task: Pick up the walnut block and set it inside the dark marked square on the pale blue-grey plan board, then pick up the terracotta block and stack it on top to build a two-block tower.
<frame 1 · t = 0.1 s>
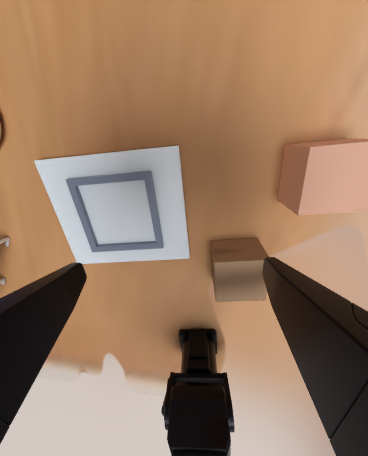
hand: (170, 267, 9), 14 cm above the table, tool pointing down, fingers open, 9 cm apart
plan board: (122, 211, 24), on the table
walnut block: (233, 257, 26), on the table
terracotta block: (308, 171, 21), on the table
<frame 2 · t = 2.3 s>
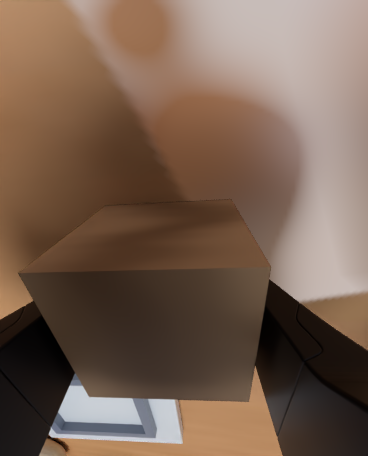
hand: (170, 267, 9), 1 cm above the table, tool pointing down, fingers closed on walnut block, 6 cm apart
stacking toy: (38, 441, 24), on the table
plan board: (99, 388, 17), on the table
walnut block: (172, 255, 10), on the table, touching gripper
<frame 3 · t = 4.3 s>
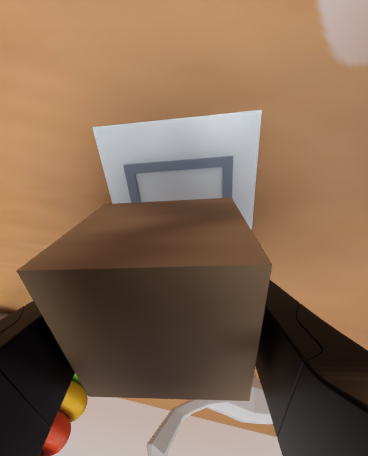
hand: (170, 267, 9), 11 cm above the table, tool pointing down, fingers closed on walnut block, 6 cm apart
stacking toy: (108, 302, 27), on the table
plan board: (182, 207, 20), on the table
walnut block: (172, 254, 10), point 10 cm above the table, touching gripper
cat figurine: (227, 334, 29), on the table
when the fingers open (3 cm above the table, at t = 6.3 s): walnut block drops 1 cm, resting on plan board.
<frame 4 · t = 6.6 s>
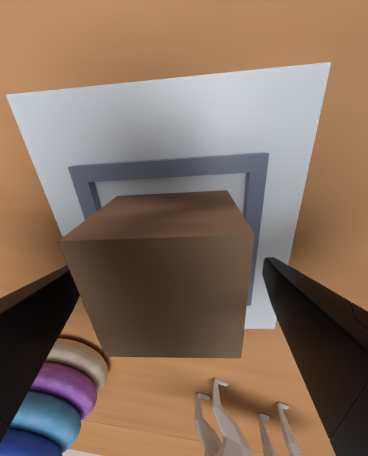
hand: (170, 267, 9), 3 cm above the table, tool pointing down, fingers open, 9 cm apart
stacking toy: (73, 356, 20), on the table
plan board: (176, 234, 12), on the table
walnut block: (175, 241, 11), point 1 cm above the table, touching plan board
cat figurine: (236, 394, 21), on the table
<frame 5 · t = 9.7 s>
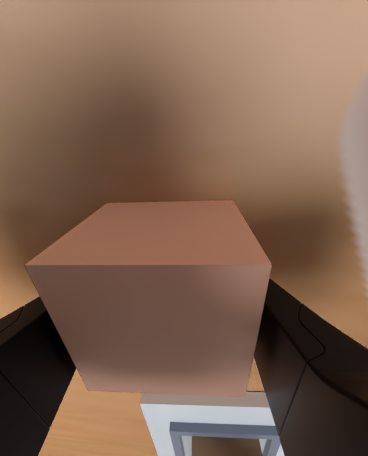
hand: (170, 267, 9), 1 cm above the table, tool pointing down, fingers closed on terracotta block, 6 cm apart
plan board: (221, 431, 19), on the table
walnut block: (223, 445, 19), point 1 cm above the table, touching plan board
terracotta block: (172, 253, 10), on the table, touching gripper
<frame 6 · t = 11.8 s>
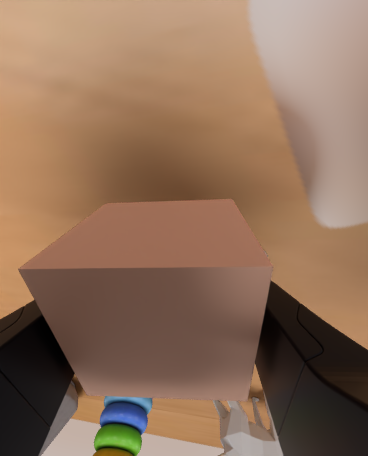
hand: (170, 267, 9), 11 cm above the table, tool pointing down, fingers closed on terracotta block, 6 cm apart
stacking toy: (138, 364, 32), on the table
coffee pot: (65, 371, 34), on the table
terracotta block: (172, 254, 10), point 10 cm above the table, touching gripper
cat figurine: (237, 385, 34), on the table
when the fingers open (8 cm above the table, at t = 13.7 s): terracotta block drops 1 cm, resting on walnut block.
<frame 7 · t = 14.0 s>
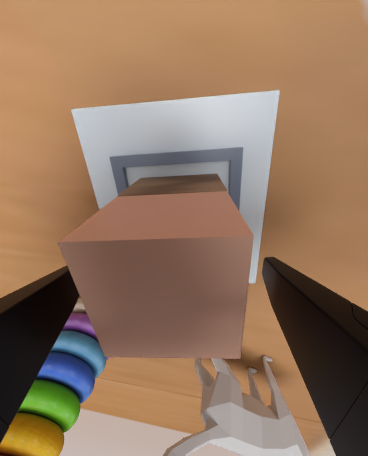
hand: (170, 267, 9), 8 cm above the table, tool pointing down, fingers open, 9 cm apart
stacking toy: (96, 315, 24), on the table
plan board: (181, 208, 17), on the table
walnut block: (180, 211, 16), point 1 cm above the table, touching plan board, terracotta block
terracotta block: (175, 241, 11), point 6 cm above the table, touching walnut block
cat figurine: (228, 349, 26), on the table
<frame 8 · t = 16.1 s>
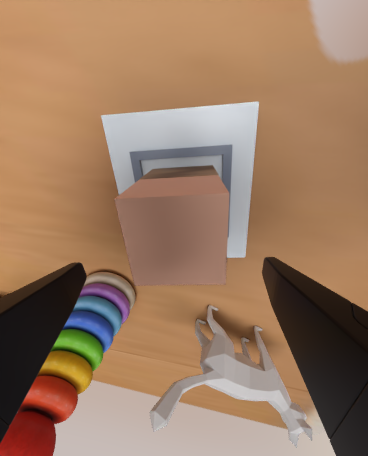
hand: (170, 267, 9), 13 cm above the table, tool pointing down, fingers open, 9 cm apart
stacking toy: (110, 289, 28), on the table
plan board: (184, 194, 21), on the table
walnut block: (184, 196, 20), point 1 cm above the table, touching plan board, terracotta block
terracotta block: (181, 214, 15), point 6 cm above the table, touching walnut block
cat figurine: (224, 320, 30), on the table
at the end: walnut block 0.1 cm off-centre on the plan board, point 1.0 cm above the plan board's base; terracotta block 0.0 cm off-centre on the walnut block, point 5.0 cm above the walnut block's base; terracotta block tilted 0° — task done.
